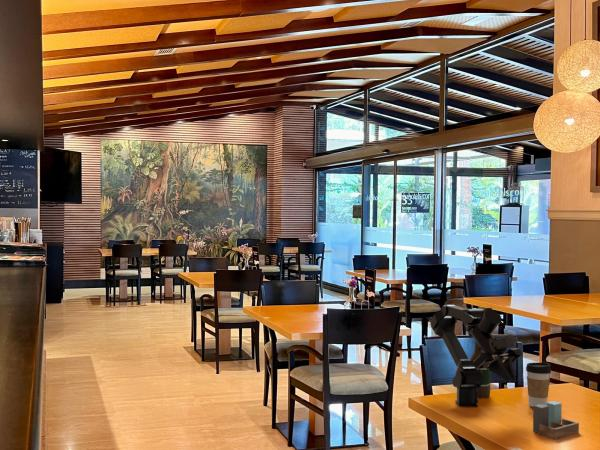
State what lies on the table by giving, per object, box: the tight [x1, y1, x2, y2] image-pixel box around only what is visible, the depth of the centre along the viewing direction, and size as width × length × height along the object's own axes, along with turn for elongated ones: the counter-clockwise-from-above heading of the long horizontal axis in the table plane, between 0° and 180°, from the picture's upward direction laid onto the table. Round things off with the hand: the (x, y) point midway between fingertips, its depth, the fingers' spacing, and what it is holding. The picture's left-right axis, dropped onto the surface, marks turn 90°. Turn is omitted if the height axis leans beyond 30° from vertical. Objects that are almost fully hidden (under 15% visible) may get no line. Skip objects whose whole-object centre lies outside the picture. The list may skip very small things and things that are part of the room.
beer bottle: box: [469, 339, 492, 399], centre depth 247 cm, size 8×8×24 cm
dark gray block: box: [532, 404, 549, 434], centre depth 206 cm, size 3×4×8 cm
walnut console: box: [539, 418, 580, 440], centre depth 205 cm, size 6×12×3 cm, turn 124°
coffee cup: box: [525, 362, 552, 408], centre depth 235 cm, size 8×8×15 cm
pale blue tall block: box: [546, 400, 563, 427], centre depth 210 cm, size 3×4×8 cm
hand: (512, 380), depth 215 cm, fingers closed
